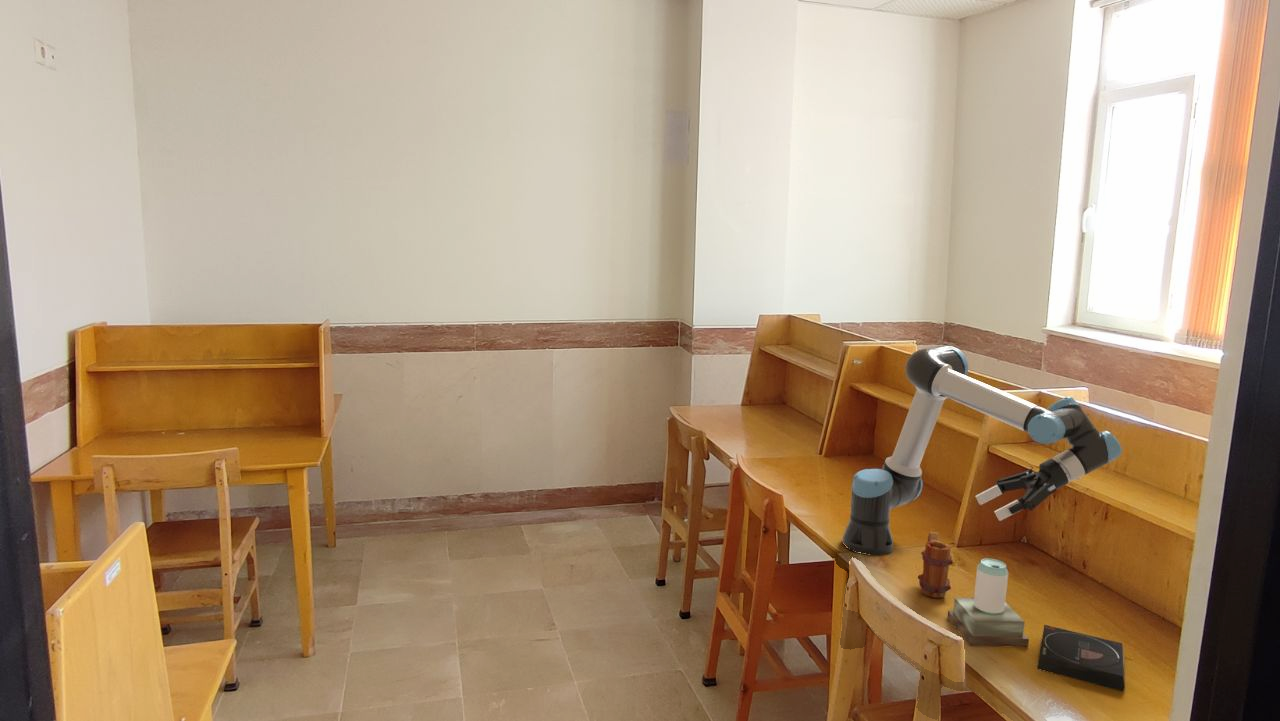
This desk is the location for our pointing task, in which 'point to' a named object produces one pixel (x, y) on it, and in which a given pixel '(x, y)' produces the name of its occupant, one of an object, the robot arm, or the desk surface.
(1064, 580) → the desk surface
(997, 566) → the can
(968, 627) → the two-tier square plinth
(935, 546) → the mug
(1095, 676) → the portable cd player
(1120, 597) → the desk surface
